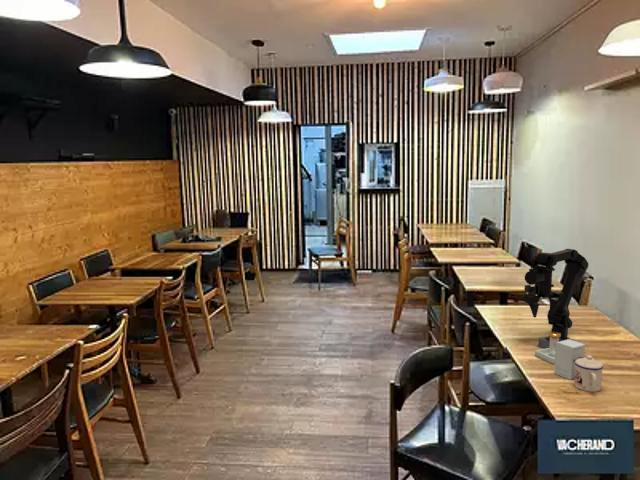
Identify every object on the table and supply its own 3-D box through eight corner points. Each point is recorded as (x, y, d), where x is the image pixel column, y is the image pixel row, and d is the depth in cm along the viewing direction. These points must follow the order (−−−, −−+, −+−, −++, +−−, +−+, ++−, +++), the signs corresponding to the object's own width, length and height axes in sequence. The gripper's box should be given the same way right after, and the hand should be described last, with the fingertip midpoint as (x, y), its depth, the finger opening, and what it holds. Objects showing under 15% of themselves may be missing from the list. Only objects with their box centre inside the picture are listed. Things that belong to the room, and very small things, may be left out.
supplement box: (570, 380, 190) (572, 347, 188) (553, 373, 196) (555, 341, 195) (583, 376, 193) (585, 344, 191) (566, 369, 200) (568, 338, 198)
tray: (553, 352, 217) (553, 347, 217) (572, 361, 208) (572, 355, 208) (534, 356, 214) (534, 350, 214) (552, 364, 205) (553, 358, 204)
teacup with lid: (570, 381, 189) (572, 350, 188) (597, 382, 188) (599, 352, 186) (579, 395, 178) (581, 363, 176) (608, 397, 176) (610, 364, 174)
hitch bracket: (552, 344, 228) (552, 335, 227) (566, 350, 220) (566, 341, 220) (537, 346, 225) (538, 337, 225) (551, 352, 218) (552, 343, 217)
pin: (553, 354, 214) (554, 330, 212) (561, 357, 210) (563, 334, 208) (544, 355, 212) (545, 332, 211) (553, 359, 208) (554, 335, 207)
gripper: (547, 276, 234) (546, 309, 236) (514, 279, 228) (513, 313, 230) (566, 281, 224) (565, 315, 226) (532, 285, 218) (530, 320, 220)
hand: (542, 316), depth 226 cm, fingers open, 9 cm apart
